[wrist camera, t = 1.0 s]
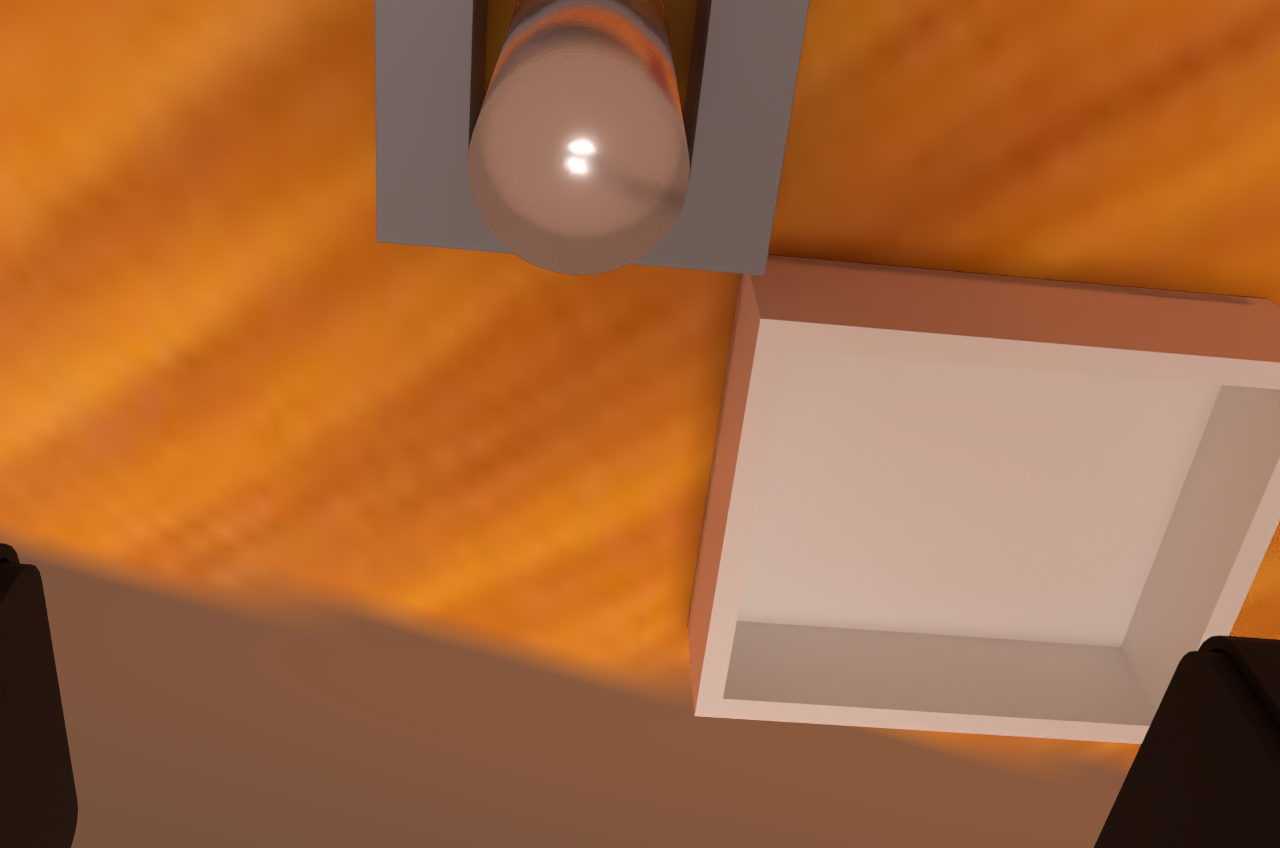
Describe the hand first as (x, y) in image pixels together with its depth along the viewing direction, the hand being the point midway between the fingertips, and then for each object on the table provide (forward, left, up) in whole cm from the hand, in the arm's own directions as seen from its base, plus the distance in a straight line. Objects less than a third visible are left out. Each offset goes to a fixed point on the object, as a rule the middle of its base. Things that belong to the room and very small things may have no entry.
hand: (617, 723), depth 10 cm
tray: (-12, +13, -26) cm, 31 cm away
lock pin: (+1, 0, -26) cm, 26 cm away
